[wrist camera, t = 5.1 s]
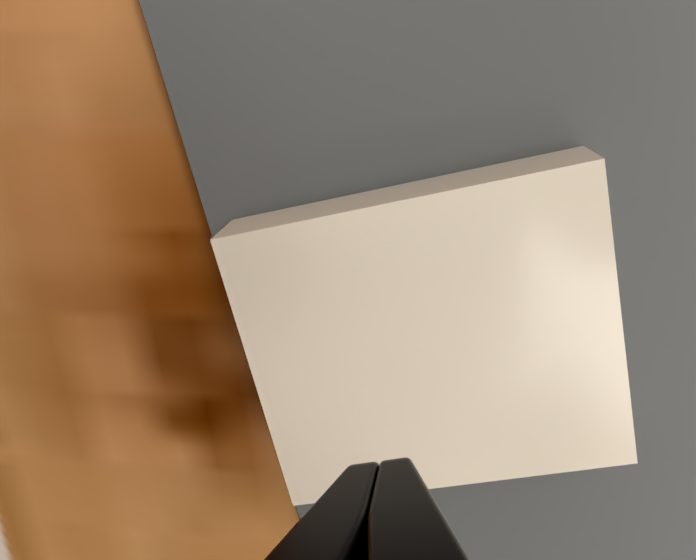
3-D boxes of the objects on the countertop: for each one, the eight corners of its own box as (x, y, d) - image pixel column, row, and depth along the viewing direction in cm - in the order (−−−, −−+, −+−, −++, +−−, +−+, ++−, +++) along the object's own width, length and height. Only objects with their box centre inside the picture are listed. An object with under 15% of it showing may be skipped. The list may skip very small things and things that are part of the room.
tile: (637, 463, 12) (293, 506, 14) (613, 416, 14) (306, 458, 15) (604, 158, 11) (210, 239, 12) (581, 144, 12) (235, 217, 13)
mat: (890, 619, 16) (904, 637, 15) (350, 660, 18) (348, 677, 18) (923, -258, 10) (947, -274, 10) (140, -29, 12) (128, -32, 12)
